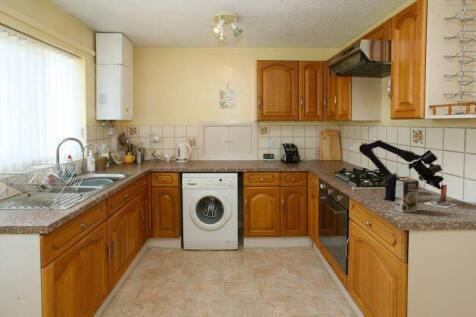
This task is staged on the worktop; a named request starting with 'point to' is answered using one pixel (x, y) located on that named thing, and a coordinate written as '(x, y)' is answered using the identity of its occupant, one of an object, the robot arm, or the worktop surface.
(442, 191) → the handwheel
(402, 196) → the coffee box
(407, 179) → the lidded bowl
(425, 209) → the worktop surface
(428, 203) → the wheel base
